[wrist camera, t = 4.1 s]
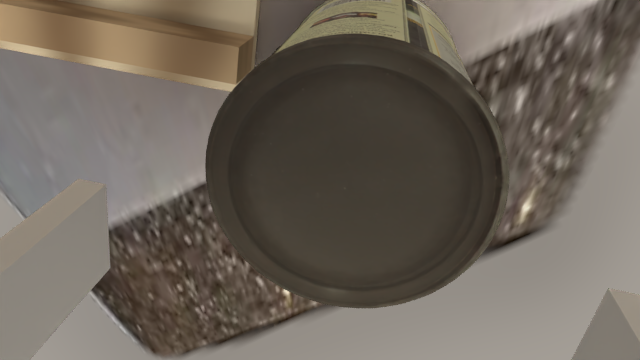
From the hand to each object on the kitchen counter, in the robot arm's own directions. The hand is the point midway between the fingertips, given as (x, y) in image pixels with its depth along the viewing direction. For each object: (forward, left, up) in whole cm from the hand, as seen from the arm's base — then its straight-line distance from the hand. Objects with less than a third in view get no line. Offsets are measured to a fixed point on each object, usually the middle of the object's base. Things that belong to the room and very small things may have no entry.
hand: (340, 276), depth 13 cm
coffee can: (0, 0, -19) cm, 19 cm away
